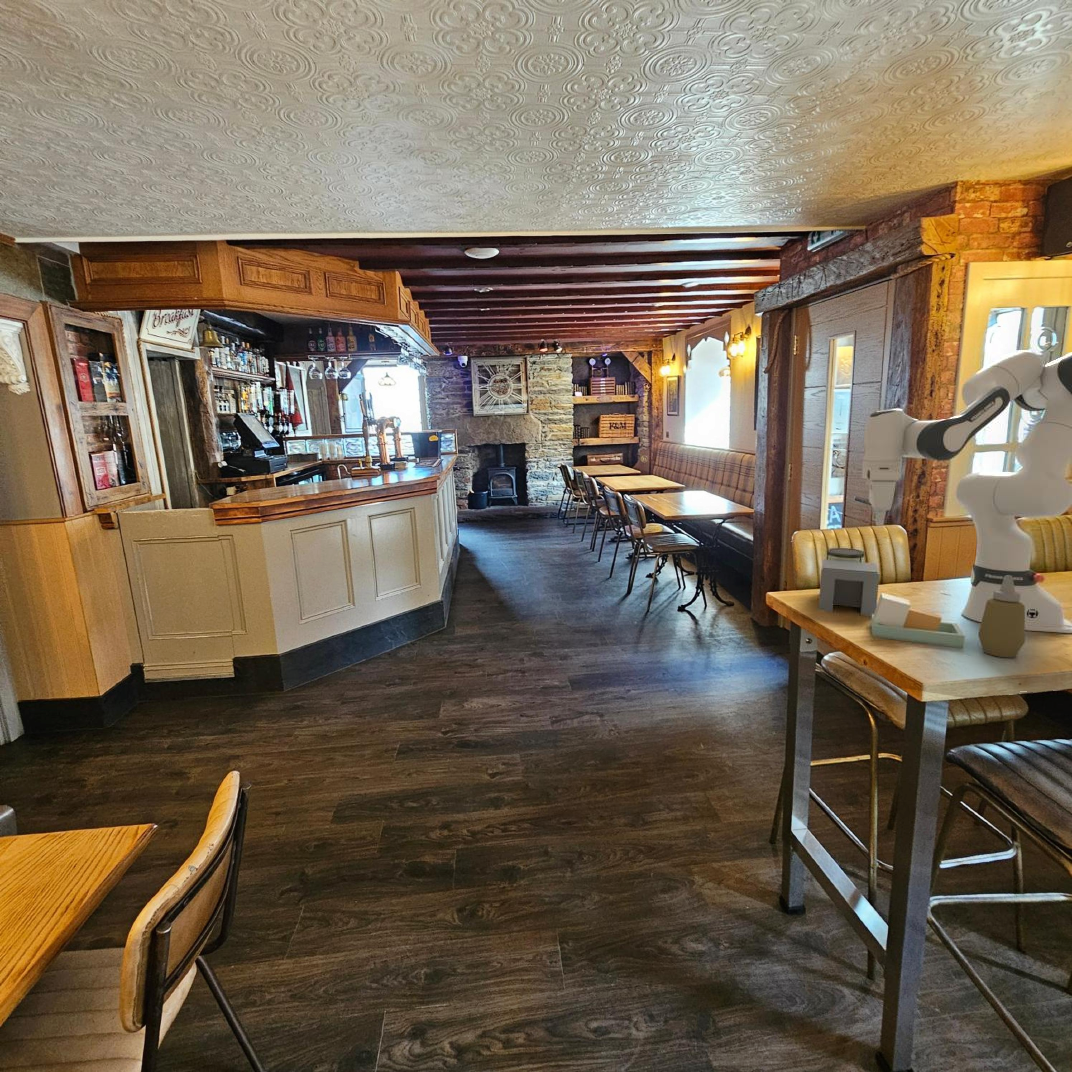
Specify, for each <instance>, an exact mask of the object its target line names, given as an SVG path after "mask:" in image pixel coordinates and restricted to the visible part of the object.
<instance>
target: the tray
mask: <svg viewBox="0 0 1072 1072" xmlns="http://www.w3.org/2000/svg"><path fill="white" fill-rule="evenodd" d="M873 616H874V614H872V616H871V621H870V629H871V635H872V637H873V638H878V639H886V640H887V639H888V640H894V641H902V642H903V641H904V642H911V643H918V644H925V645H926V644H927V645H933V646H941V647H942V646H943V647H949V648H956V649H964V642H965V634H964V633H963V631H962V630H961V628H960V626H959V625H958V623H956V622H946V621H941V622H940V625H939V627H938V630H937V631H929V630H920V629H912V628H903V627H895V626H887V625H883V624H880V623H876V622H874V617H873Z"/></svg>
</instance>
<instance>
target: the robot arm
mask: <svg viewBox="0 0 1072 1072" xmlns="http://www.w3.org/2000/svg"><path fill="white" fill-rule="evenodd" d="M961 388H962V389H961V397H962V400H963V402H964V403H963V404H965V406H966V407H965V408H964V409H962V411H960V412H959V413H958V414H957V415H955V416H952V417H949V418H944V419H937V420H919V419H917V418H913V417H911V416H910V415H908V414H906V413H905V412H904V411H903V409H901V408H898V407H897V408H896V407H895V408H893V407H892V408H887V409H881V410H877V411H874V412H872V413H871V414H870V415H869V416H868V419H867V422H866V425H865V429H864V430H865V431H864V438H863V441H864V443H863V445H864V449H865V451H864V455H863V459H862V470H861V477H862V479H866V485H869V489H868V502H869V504H870V505H871V509H872V518H871V520H872V521H875V523H874V524H875V526H876V527H883V526H884V524H885V517H886V514H887V511H891V508H892V506H893V501H894V496H895V490H896V483H897V481H899V480H900V479H901V477H902V467H903V466H902V464H903V458H913V459H928V460H934V461H941V462H942V461H949V460H951V459H953V458H956V456H958V455H959V454H960V453H961V452H962V451H963V449H964V448H965V447H966V445H967V444H968V442H969V441H970V440H971V439H972V438H973V437H974V436H976V435H977V434H978V433H979V432H980V431H981V430H983V429H984V428H985V427H986V426H987V425H989V424H990V423H991V422H992V421H993V420H995V419H996V418H997V417H998V416H999V415H1000V414H1001V413H1003V412H1004V411H1005V410H1006V409H1007V407H1008V406H1009V404H1010V403H1011V402H1012V401H1014V402H1015V404H1016V405H1017V406H1018V407H1020V408H1021V409H1023V410H1025V411H1027V412H1040V411H1041V412H1042V411H1044V413H1043V415H1042V417H1041V419H1040V420H1039V421H1038V422H1037V423H1036V424H1035V425H1034V426H1033V428H1032V429H1031V430H1030V431H1029V433H1028V434H1027V435H1026V436H1025V437H1024V439H1023V440H1022V441H1021V442H1020V444H1018V446H1017V447H1016V449H1015V458H1016V460H1017V462H1018V463H1019V465H1021V468H1020V469H1019V470H1017V471H993V470H992V471H991V470H987V471H980V472H974V473H968V474H967V475H964V477H962V478H961V479H960V480H959V482H958V484H957V487H956V491H955V496H956V499H957V502H958V503H959V504H960V505H961V506H962V507H963V508H964V509H965V510H966V511H967V513H968V514H969V516H970V518H971V519H972V523H973V524H974V528H975V532H976V554H975V562H974V564H973V565H972V569H971V573H970V584H971V588H970V591H969V594H968V598H967V601H966V604H965V605H964V608H963V610H962V611H961V615H963V616H964V617H965V618H968V619H969V620H973V621H976V622H979V623H981V622H982V618H983V614H984V610H985V606H986V602H987V601H988V600H990V599H992V598H993V591H994V590H997V589H1000V587H1001V585H1002V583H1003V580H1004V578H1005V576H1006V575H1010V576H1012V577H1013V583H1014V590H1015V591H1016V592H1019V593H1020V594H1021V595H1020V601H1018V602H1021V603H1022V604H1023V605H1024V606H1025V631H1030V632H1031V631H1035V632H1048V633H1060V634H1061V633H1063V634H1064V633H1065V634H1072V622H1071V621H1070V620H1068V619H1066V618H1065V617H1064V609H1063V606H1062V604H1061V602H1060V601H1059V600H1058V599H1056V597H1054V596H1053V595H1051V594H1050V593H1049V592H1048V591H1047V590H1045V589H1043V588H1042V587H1041V586H1039V585H1038V584H1037V583H1044V581H1046V578H1045V575H1043V574H1041V573H1039V572H1036V571H1035V570H1032V569H1030V565H1031V558H1032V557H1031V556H1032V550H1033V539H1032V538H1031V536H1030V535H1029V534H1027V533H1026V532H1025V531H1023V530H1022V529H1021V528H1020V527H1019V525H1018V523H1017V522H1016V521H1017V520H1016V518H1015V517H1022V518H1023V517H1024V518H1030V519H1031V518H1032V519H1039V518H1053V517H1059V516H1061V515H1064V513H1066V512H1067V511H1068V510H1069V509H1070V507H1071V506H1072V484H1071V483H1070V482H1069V480H1068V479H1066V477H1065V473H1066V470H1067V467H1068V466H1069V464H1070V463H1071V462H1072V352H1069V353H1067V354H1066V355H1064V356H1062V357H1060V358H1057V359H1054V360H1052V361H1050V362H1049V363H1047V362H1043V360H1042V358H1041V357H1040V356H1039V354H1037V353H1035V352H1033V351H1030V350H1026V349H1025V350H1016V351H1013V352H1011V353H1009V354H1007V355H1004V356H1002V357H1000V358H998V359H997V360H995V361H993V362H991V363H988V365H986V366H984V367H983V368H981V369H980V370H978V371H977V372H976V373H974V374H973V375H971V376H970V377H969V378H968V379H967V380H966V381H965V383H964V384H963V385H962V387H961Z"/></svg>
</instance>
